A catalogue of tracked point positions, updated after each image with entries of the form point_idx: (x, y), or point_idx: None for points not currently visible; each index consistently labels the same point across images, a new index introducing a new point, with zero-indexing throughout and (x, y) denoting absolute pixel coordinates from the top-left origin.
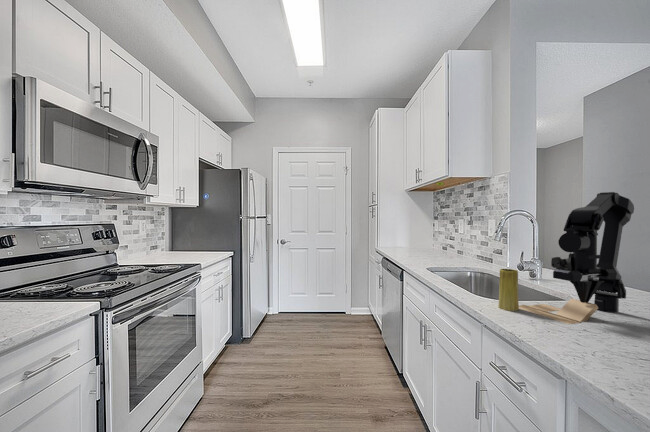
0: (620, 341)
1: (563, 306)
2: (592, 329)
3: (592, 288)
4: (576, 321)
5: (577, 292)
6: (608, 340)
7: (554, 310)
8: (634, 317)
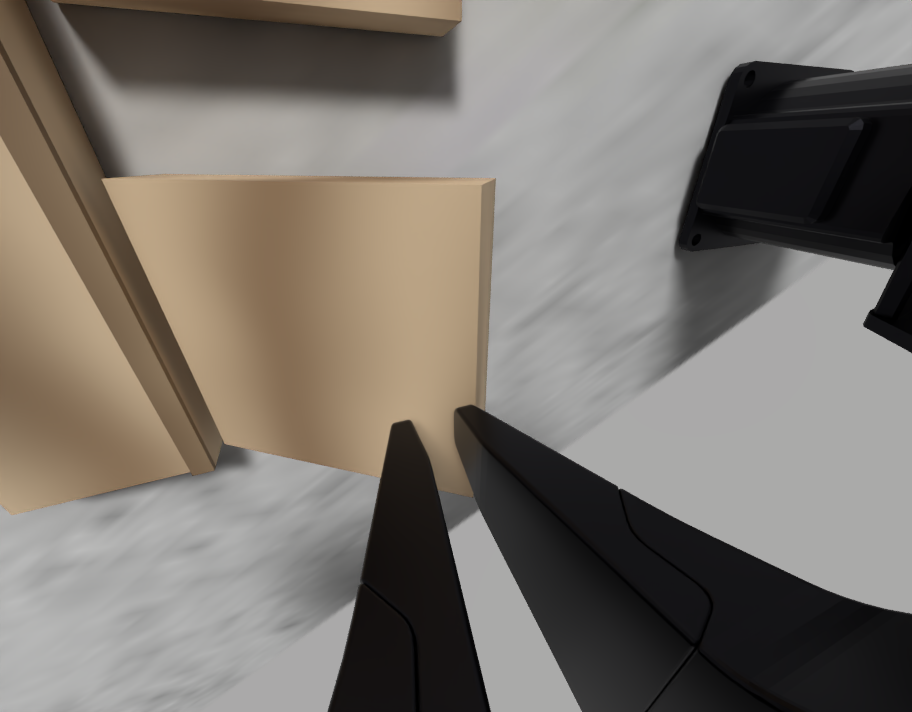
0: (271, 596)
1: (264, 182)
2: None
3: (586, 702)
4: (179, 449)
5: (368, 560)
6: (210, 600)
7: None
8: (776, 265)
